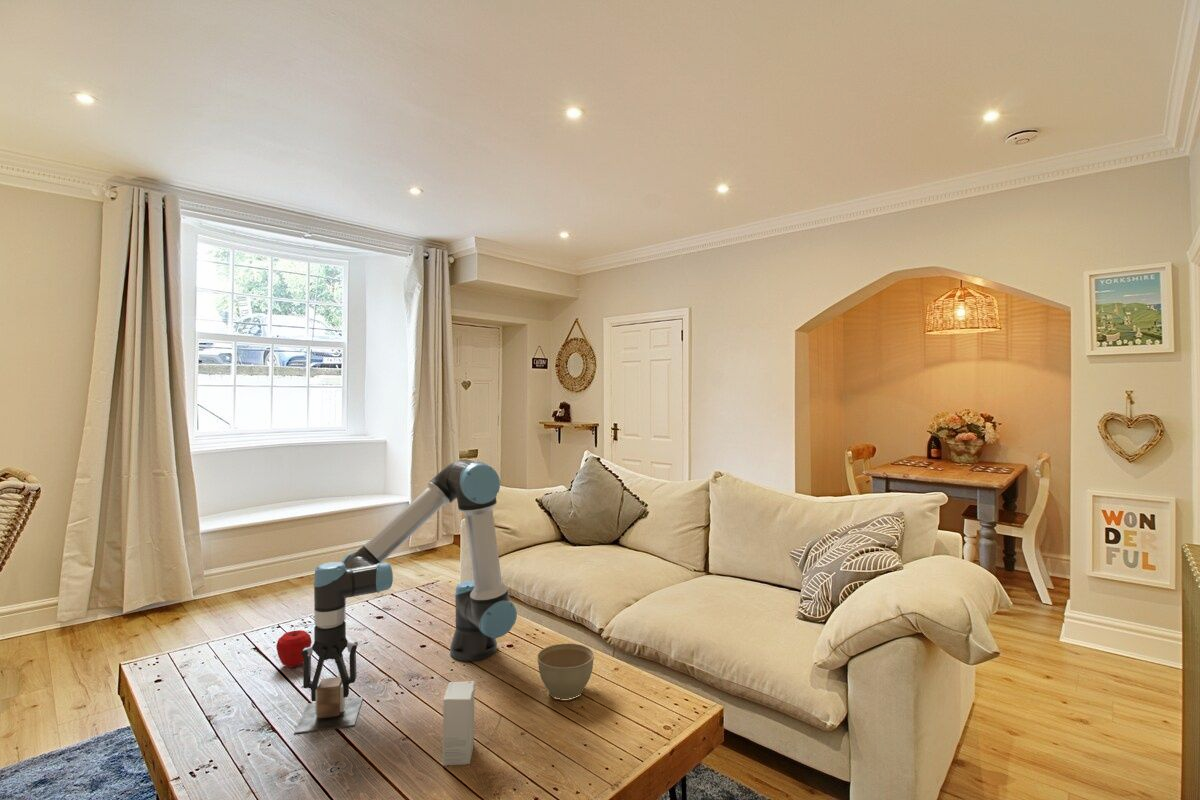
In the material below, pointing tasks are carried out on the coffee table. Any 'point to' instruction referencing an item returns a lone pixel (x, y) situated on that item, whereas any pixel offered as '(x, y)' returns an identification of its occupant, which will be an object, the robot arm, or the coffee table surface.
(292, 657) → the apple
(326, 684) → the tan wooden block
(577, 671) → the planter bowl
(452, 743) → the skincare box
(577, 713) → the coffee table surface
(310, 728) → the grey square base plate
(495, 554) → the robot arm
